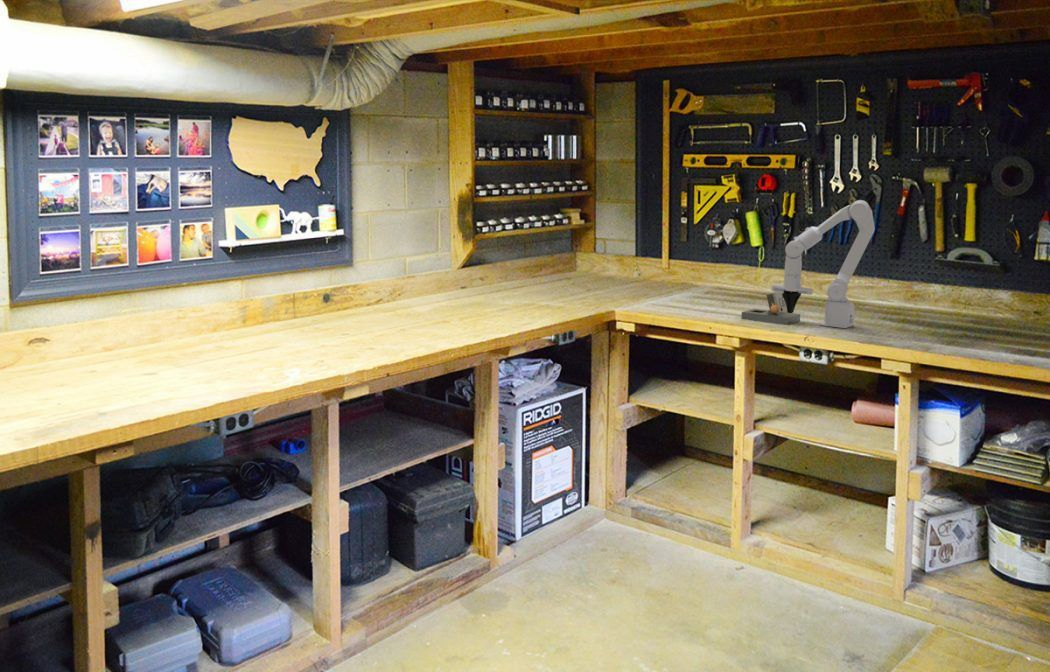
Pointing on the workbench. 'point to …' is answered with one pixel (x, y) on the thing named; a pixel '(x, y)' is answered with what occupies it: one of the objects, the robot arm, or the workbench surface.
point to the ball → (775, 309)
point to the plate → (771, 316)
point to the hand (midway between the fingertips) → (790, 312)
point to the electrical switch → (777, 300)
